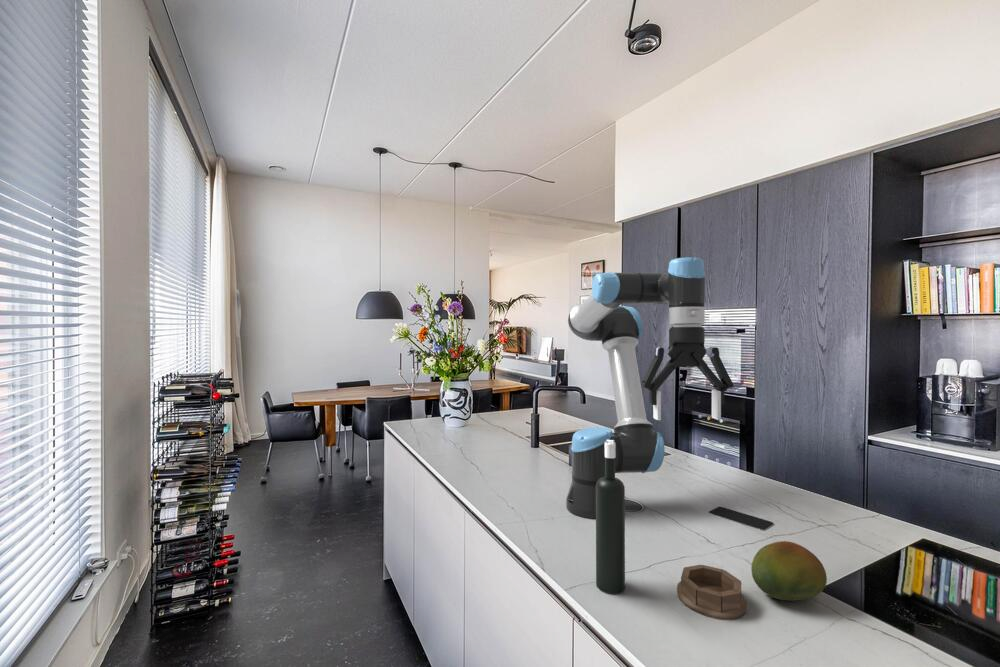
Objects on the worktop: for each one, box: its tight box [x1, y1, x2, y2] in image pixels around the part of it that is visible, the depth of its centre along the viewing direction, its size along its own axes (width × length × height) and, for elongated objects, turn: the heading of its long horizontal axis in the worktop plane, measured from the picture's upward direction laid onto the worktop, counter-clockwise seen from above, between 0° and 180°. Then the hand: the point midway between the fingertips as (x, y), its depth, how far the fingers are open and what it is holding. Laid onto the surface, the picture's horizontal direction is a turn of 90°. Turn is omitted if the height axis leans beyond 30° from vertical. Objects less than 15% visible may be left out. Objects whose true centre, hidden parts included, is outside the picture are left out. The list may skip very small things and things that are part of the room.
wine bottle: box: [595, 440, 626, 595], centre depth 91 cm, size 6×6×30 cm
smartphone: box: [708, 506, 775, 532], centre depth 124 cm, size 7×1×15 cm
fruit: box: [750, 540, 828, 601], centre depth 87 cm, size 12×13×10 cm
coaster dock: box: [676, 564, 748, 620], centre depth 86 cm, size 12×12×4 cm
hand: (686, 419), depth 101 cm, fingers open, 13 cm apart
